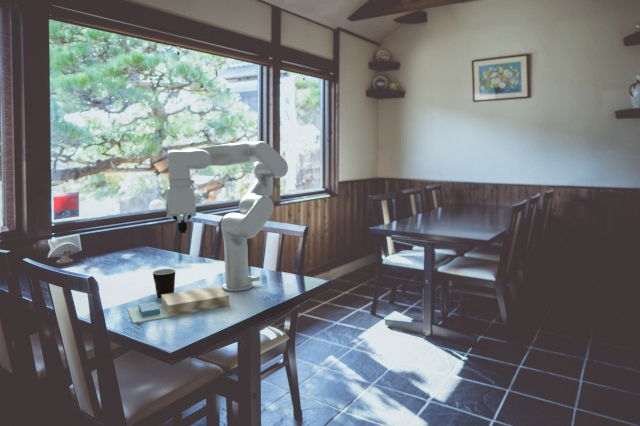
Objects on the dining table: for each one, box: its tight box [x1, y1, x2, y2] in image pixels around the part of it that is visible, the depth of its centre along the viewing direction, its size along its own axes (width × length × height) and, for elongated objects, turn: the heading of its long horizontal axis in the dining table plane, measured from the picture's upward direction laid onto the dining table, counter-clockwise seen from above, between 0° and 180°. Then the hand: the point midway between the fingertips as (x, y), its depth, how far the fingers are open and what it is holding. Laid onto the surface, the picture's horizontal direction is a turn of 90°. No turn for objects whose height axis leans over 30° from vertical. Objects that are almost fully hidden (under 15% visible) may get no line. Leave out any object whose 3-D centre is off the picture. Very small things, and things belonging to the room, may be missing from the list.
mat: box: [127, 302, 171, 324], centre depth 175 cm, size 12×16×1 cm
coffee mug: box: [152, 268, 176, 299], centre depth 195 cm, size 12×9×10 cm
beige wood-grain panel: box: [160, 285, 230, 317], centre depth 182 cm, size 22×14×4 cm, turn 118°
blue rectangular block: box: [137, 301, 160, 317], centre depth 175 cm, size 6×9×2 cm, turn 28°
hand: (182, 232), depth 183 cm, fingers closed
